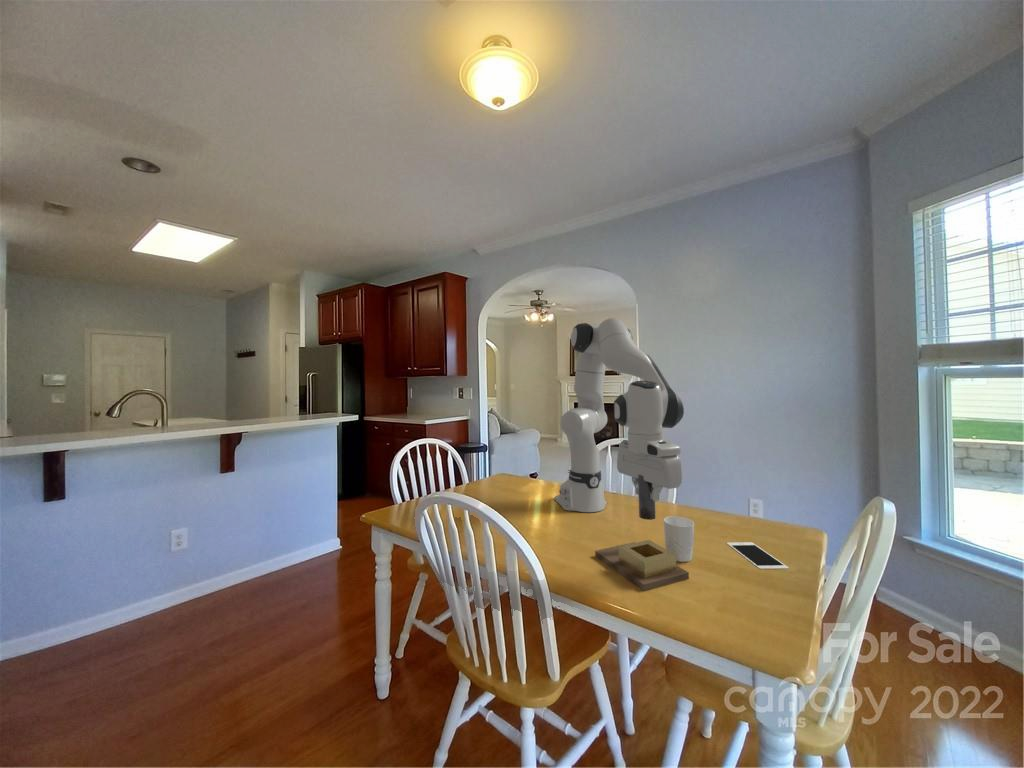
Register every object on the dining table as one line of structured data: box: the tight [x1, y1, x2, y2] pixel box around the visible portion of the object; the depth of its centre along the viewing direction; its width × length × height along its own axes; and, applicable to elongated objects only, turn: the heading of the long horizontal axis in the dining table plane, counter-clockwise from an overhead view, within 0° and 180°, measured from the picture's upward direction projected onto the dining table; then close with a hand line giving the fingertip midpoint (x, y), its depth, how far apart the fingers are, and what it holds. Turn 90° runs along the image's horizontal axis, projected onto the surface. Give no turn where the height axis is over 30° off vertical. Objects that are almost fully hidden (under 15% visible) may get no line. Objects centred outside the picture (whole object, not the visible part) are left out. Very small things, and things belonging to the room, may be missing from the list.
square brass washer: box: [618, 539, 677, 579], centre depth 102 cm, size 10×10×4 cm
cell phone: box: [726, 541, 790, 570], centre depth 110 cm, size 8×16×1 cm, turn 0°
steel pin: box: [638, 475, 657, 521], centre depth 102 cm, size 4×4×11 cm
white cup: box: [663, 515, 695, 563], centre depth 110 cm, size 8×8×10 cm
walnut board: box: [594, 541, 690, 592], centre depth 105 cm, size 20×14×2 cm
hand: (647, 497), depth 102 cm, fingers closed on steel pin, 4 cm apart
